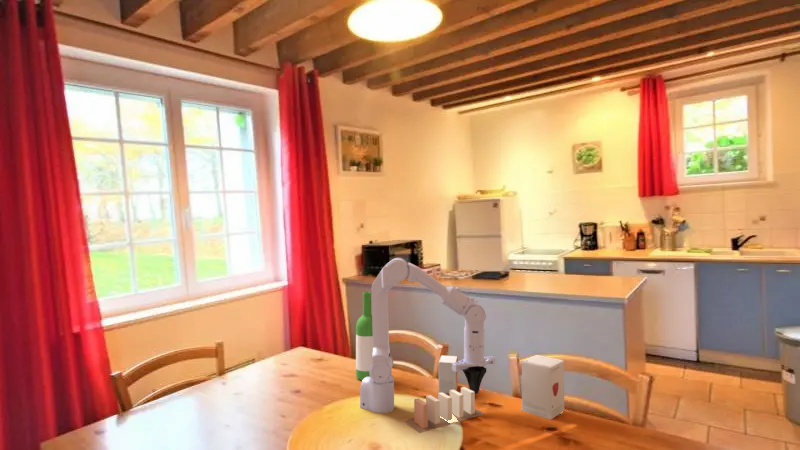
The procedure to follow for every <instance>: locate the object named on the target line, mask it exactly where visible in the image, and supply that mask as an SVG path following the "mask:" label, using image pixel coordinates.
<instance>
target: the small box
mask: <svg viewBox="0 0 800 450" xmlns="http://www.w3.org/2000/svg"><path fill="white" fill-rule="evenodd" d="M458 357H459V356H456V355H440V357H439V361H438V393H441V392H443V393H444V394H446V395H448V394H449V395H450V390H455V391H457V392H458V388H459V387H458V385H459V384H458V383H459V381H458V378H459V375H458V373H459V372H455V371H453V370H452V363H455V362H458V361H459V360H458V359H459V358H458Z"/></svg>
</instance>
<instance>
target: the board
mask: <svg viewBox="0 0 800 450" xmlns="http://www.w3.org/2000/svg"><path fill="white" fill-rule="evenodd" d="M453 415H454V414H453ZM484 415H486V413H485V412H482V411H481V410H479V409H477V408H475V413H474V414H469V413H467V412H466V411H464V410H463V417H460V418H459V417H457V416H456V415H454V416H455V417H456V418H457V420H458V421H459V422H462V421H466V420H469V419H473V418H477V417H480V416H484ZM402 422H404V423H405V424H406V425H408V426H409V427H410V428H411V429H413V430H414V431H416V432H418V433H419V434H421V433H424V432H428V431H430V430H434V429H437V428H442V427H445V426H450V425H451V424H450V423H448V422H447V421H445V420H444V419H442V418H440V423H438V424H434V423H433V422H431V421H430V420H428V427H426V428H422V427H421V426H419V425H418V424H417V423H415V422H414V417H413V418H412V417H411V418H409V419H405V420H403V421H402Z"/></svg>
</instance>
